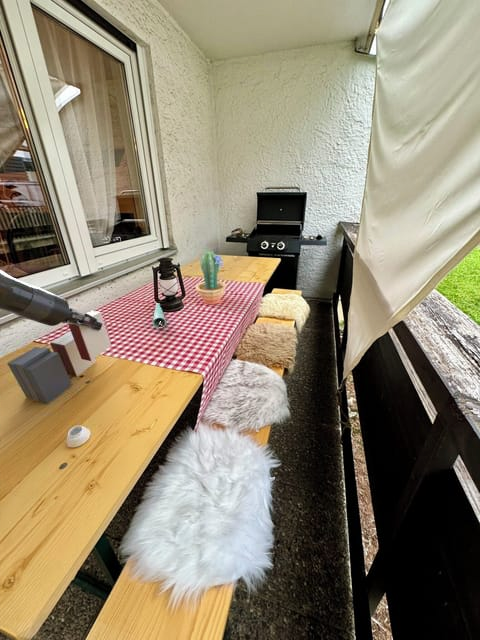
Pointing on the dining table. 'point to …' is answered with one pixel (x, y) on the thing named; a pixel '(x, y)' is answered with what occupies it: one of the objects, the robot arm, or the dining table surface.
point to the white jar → (77, 436)
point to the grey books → (40, 374)
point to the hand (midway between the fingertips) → (94, 326)
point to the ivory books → (70, 355)
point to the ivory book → (90, 338)
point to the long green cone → (158, 317)
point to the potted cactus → (211, 279)
